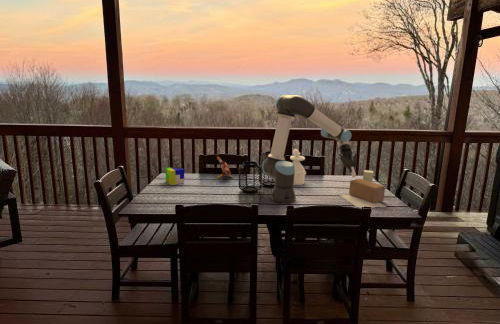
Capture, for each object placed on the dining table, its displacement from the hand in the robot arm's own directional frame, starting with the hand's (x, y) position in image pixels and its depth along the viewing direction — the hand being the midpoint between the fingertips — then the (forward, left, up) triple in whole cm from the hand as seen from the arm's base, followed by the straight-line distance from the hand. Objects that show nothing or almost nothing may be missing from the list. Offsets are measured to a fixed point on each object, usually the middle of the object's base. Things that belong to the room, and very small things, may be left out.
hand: (354, 176), depth 215 cm
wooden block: (0, +3, -8) cm, 8 cm away
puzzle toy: (-113, -49, -13) cm, 124 cm away
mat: (+9, -9, -13) cm, 18 cm away
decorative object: (-43, +4, -13) cm, 45 cm away
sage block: (+5, +16, -13) cm, 21 cm away
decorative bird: (-93, -17, -13) cm, 95 cm away
